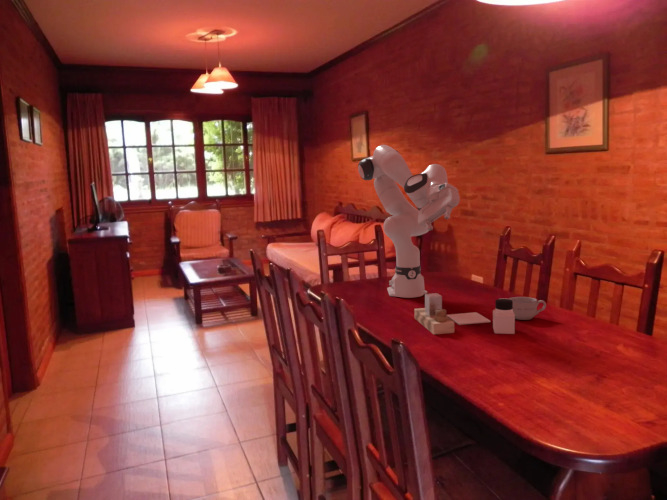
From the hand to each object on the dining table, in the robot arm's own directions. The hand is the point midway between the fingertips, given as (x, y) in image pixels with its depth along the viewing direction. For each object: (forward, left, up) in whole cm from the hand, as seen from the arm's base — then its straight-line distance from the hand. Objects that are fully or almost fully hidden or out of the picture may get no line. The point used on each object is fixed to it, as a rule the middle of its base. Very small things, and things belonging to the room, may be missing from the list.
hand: (438, 223), depth 207 cm
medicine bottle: (+20, +18, -39) cm, 47 cm away
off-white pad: (+2, +12, -39) cm, 40 cm away
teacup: (+8, +34, -39) cm, 52 cm away
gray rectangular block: (+6, -4, -35) cm, 35 cm away
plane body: (+6, -4, -39) cm, 39 cm away
